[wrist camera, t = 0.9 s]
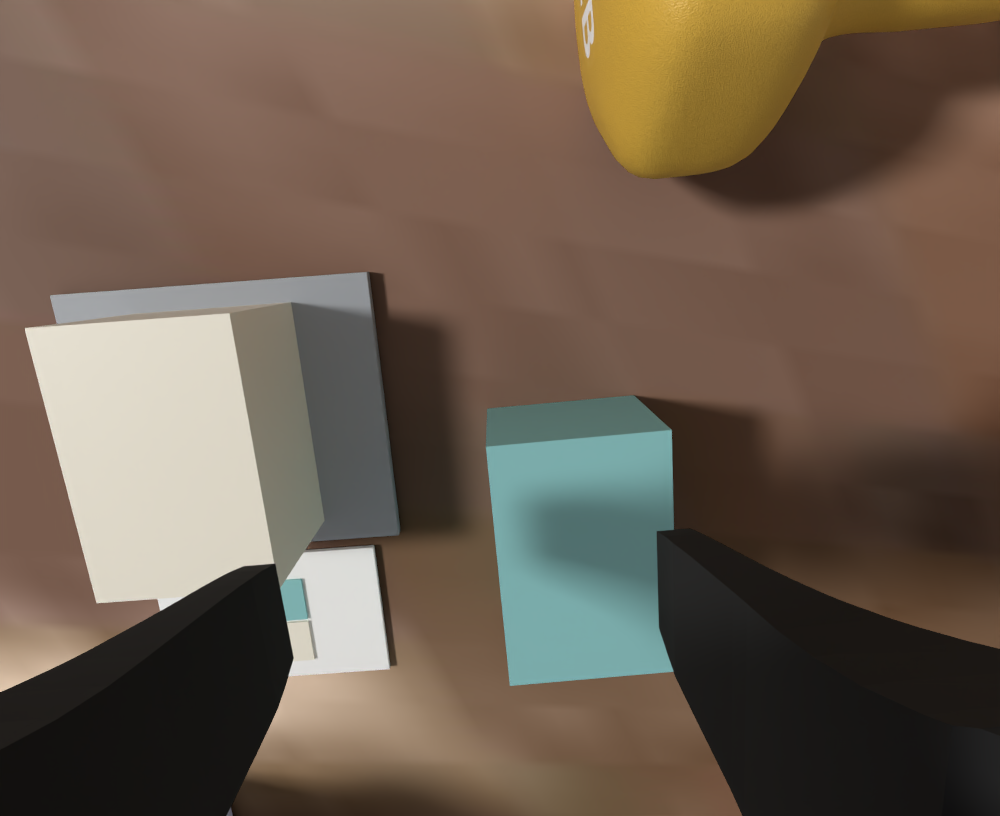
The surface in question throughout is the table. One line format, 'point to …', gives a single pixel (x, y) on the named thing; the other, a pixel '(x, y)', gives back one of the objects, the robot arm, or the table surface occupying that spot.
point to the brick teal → (580, 536)
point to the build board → (306, 381)
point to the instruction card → (333, 612)
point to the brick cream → (181, 444)
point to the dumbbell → (719, 68)
